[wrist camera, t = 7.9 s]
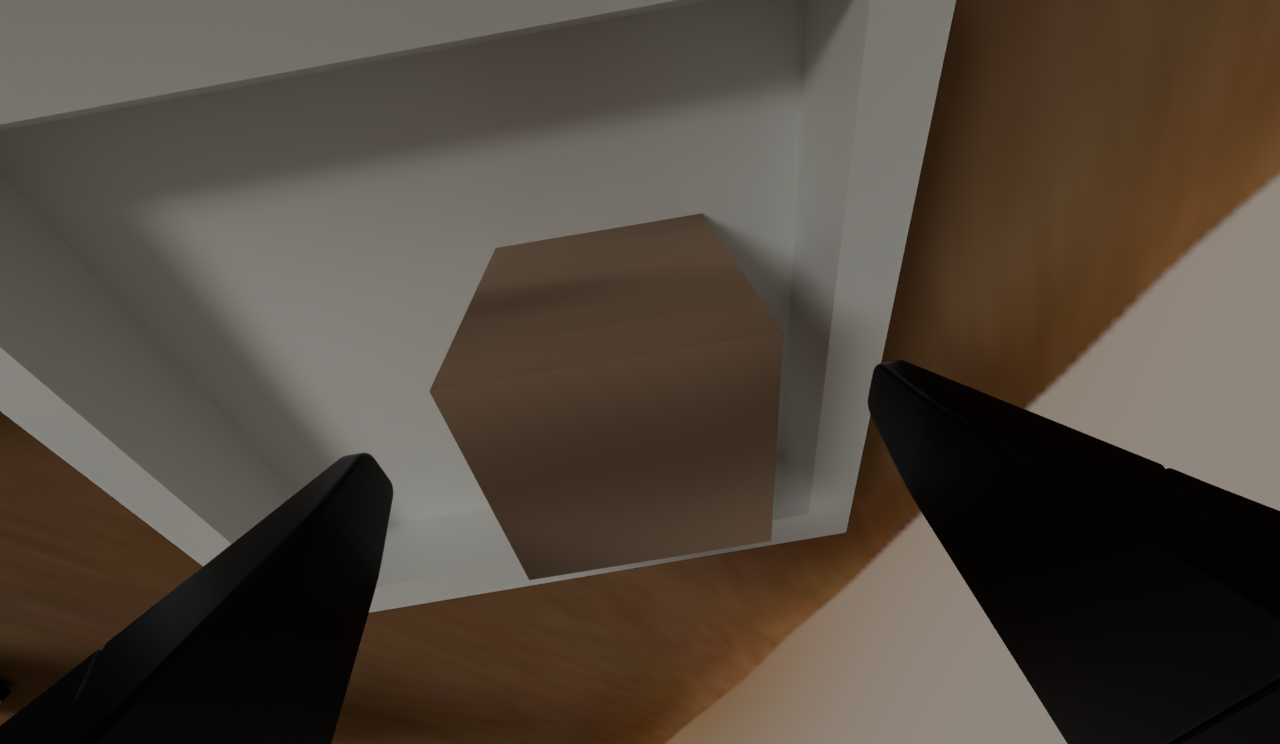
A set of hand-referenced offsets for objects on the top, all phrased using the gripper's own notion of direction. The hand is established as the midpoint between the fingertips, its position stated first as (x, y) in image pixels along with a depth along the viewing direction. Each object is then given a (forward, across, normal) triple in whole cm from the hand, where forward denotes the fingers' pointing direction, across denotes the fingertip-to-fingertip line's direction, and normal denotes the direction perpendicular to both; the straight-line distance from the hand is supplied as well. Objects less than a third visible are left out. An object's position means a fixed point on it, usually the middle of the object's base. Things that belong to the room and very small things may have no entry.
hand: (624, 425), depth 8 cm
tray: (+4, +3, 0) cm, 5 cm away
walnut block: (+4, 0, 0) cm, 4 cm away
